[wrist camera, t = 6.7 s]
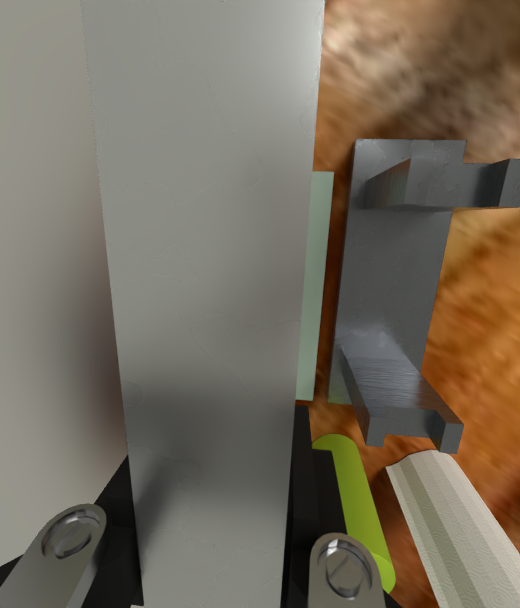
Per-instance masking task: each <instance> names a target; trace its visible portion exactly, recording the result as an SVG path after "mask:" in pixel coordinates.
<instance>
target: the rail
mask: <svg viewBox="0 0 520 608" xmlns="http://www.w3.org/2000/svg"><path fill="white" fill-rule="evenodd" d="M80 3H81V12H82V21H83V31H84V41H85V50H86V59H87V69H88V78H89V87H90V97H91V107H92V115H93V125H94V134H95V144H96V154H97V163H98V173H99V181H100V192H101V200H102V210H103V219H104V229H105V239H106V248H107V258H108V266H109V275H110V286H111V295H112V304H113V314H114V324H115V332H116V342H117V352H118V361H119V371H120V380H121V389H122V399H123V408H124V418H125V427H126V437H127V446H128V456H129V465H130V475H131V484H132V493H133V503H134V512H135V522H136V531H137V541H138V550H139V560H140V569H141V578H142V588H143V597H144V607H145V608H280V600H281V587H282V573H283V560H284V546H285V533H286V519H287V506H288V492H289V479H290V465H291V452H292V438H293V425H294V411H295V398H296V385H297V371H298V358H299V344H300V331H301V317H302V304H303V290H304V277H305V263H306V250H307V236H308V223H309V209H310V196H311V182H312V169H313V155H314V142H315V128H316V115H317V101H318V88H319V75H320V61H321V48H322V34H323V21H324V7H325V0H80Z"/></svg>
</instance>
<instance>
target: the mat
mask: <svg viewBox="0 0 520 608" xmlns="http://www.w3.org/2000/svg"><path fill="white" fill-rule="evenodd" d="M333 179H334V172H317V171H312V182H311V196H310V209H309V223H308V236H307V250H306V263H305V277H304V290H303V304H302V317H301V331H300V344H299V358H298V371H297V385H296V398H295V399H298V400H310V401H313V393H314V382H315V372H316V361H317V350H318V340H319V329H320V318H321V307H322V297H323V286H324V275H325V265H326V254H327V243H328V233H329V222H330V211H331V201H332V190H333Z"/></svg>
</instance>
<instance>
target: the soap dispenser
mask: <svg viewBox="0 0 520 608" xmlns="http://www.w3.org/2000/svg"><path fill="white" fill-rule="evenodd" d="M312 449H322V450H331V451H332V454H333V459H334V464H335V469H336V475H337V480H338V485H339V491H340V496H341V501H342V507H343V512H344V517H345V523H346V528H347V533H348V535H349V536H351V537H353V538H355V539H356V540H358V541H359V542H361V543H362V544H363V545H364V546H365V547H366V548H367V549H368V550H369V552H370V553H371V555H372V556H373V558H374V560H375V561H376V563H377V566H378V569H379V573H380V576H381V582H382V588H383V589H384V590H385V591H386V592H387V593H388V594H389V593H390V592H391V590H392V589H393V587H394V585H395V580H396V577H395V572H394V568H393V565H392V562H391V558H390V555H389V552H388V548H387V545H386V542H385V538H384V535H383V531H382V528H381V525H380V521H379V518H378V515H377V511H376V508H375V505H374V501H373V498H372V495H371V491H370V488H369V485H368V481H367V478H366V474H365V471H364V468H363V464H362V461H361V458H360V454H359V451H358V448H357V446H356V444H355V443H354V442H353V441H352V440H351V439H350V438H348V437H346V436H344V435H340V434H327V435H323V436H321V437H319V438H318V439H316V440H315V441H314V442H313V444H312Z"/></svg>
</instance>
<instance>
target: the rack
mask: <svg viewBox="0 0 520 608" xmlns="http://www.w3.org/2000/svg"><path fill="white" fill-rule="evenodd" d="M466 142H467V140H403V139H356V140H355V141H354V143H353V147H352V156H351V165H350V175H349V184H348V193H347V203H346V212H345V221H344V231H343V240H342V250H341V259H340V268H339V278H338V287H337V296H336V306H335V315H334V324H333V334H332V343H331V352H330V362H329V371H328V381H327V390H326V398H327V402H328V403H337V404H349V405H352V406H353V409H354V412H355V415H356V418H357V420H358V423H359V426H360V429H361V432H362V435H363V438H364V441H365V444H366V446H376V447H383V442H384V437H385V434H392V435H403V436H414V437H425V438H430V439H431V440H432V442H433V444H434V445H435V447H436V448H437V450H438V451H439V452H440V453H450V454H457V451H458V447H459V443H460V439H461V435H462V432H463V428H464V424H463V423H462V422H461V420H460V419H459V418H458V417H457V416H456V415H455V413H454V412H453V411H452V410H451V409H450V407H449V406H448V405H447V404H446V403H445V402H444V400H443V399H442V398H441V397H440V396H439V395H438V393H437V392H436V391H435V390H434V389H433V388H432V386H431V385H430V384H429V383H428V382H427V381H426V379H425V378H424V377H423V376H422V375H421V373H420V371H421V366H422V361H423V356H424V351H425V346H426V341H427V336H428V331H429V326H430V321H431V316H432V311H433V306H434V301H435V296H436V291H437V286H438V281H439V276H440V271H441V266H442V261H443V257H444V252H445V247H446V242H447V237H448V232H449V227H450V222H451V217H452V212H453V211H464V210H482V209H500V208H518V207H520V159H507V160H503V161H500V162H496V163H493V164H486V163H462V162H463V157H464V152H465V147H466Z"/></svg>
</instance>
